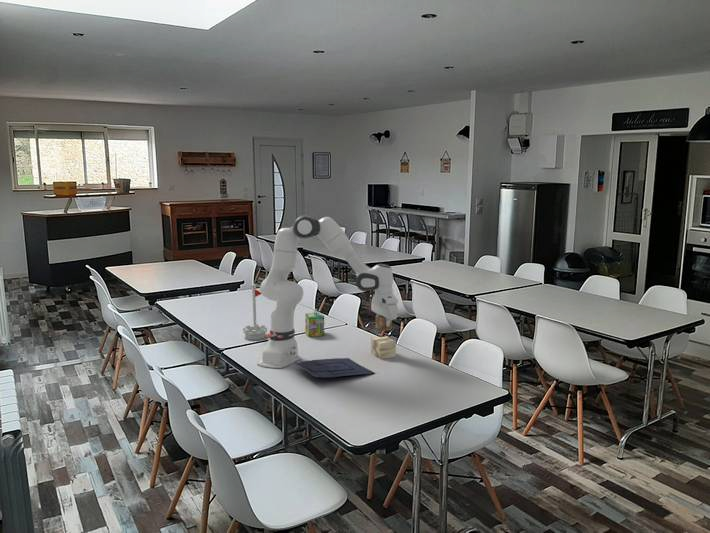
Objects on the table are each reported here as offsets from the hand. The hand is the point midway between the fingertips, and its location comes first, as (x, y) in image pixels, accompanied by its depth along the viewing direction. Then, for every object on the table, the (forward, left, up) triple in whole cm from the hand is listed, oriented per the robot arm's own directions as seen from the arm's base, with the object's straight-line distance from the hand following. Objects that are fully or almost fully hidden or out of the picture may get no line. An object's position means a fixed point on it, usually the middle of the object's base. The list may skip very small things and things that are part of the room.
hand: (383, 324), depth 262 cm
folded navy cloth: (-30, +15, -16) cm, 37 cm away
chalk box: (+21, +46, -16) cm, 53 cm away
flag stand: (+7, +76, -16) cm, 78 cm away
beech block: (0, 0, -16) cm, 16 cm away
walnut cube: (0, 0, -2) cm, 2 cm away
